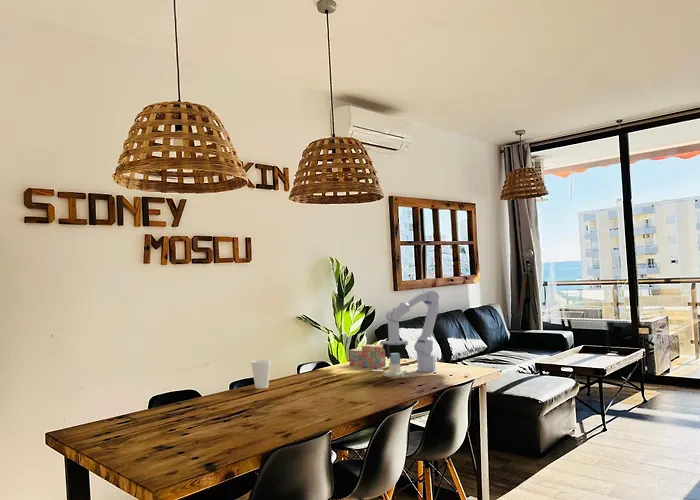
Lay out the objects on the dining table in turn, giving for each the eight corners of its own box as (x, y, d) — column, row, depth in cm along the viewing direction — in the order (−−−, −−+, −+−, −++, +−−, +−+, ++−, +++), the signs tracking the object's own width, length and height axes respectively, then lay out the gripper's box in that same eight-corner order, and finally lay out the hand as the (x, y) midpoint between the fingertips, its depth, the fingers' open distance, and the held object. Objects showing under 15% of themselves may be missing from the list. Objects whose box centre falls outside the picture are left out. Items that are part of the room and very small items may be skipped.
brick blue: (400, 363, 280) (399, 354, 280) (391, 364, 280) (391, 354, 280) (398, 362, 285) (398, 352, 285) (390, 362, 284) (389, 353, 284)
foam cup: (269, 384, 269) (269, 358, 269) (272, 388, 260) (272, 361, 260) (251, 386, 266) (250, 360, 266) (253, 390, 257) (252, 363, 257)
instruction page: (384, 369, 296) (384, 369, 296) (382, 371, 292) (382, 370, 292) (373, 369, 298) (373, 369, 298) (371, 371, 294) (371, 370, 294)
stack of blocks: (349, 365, 314) (348, 345, 315) (355, 364, 319) (354, 343, 320) (380, 368, 302) (379, 346, 303) (386, 366, 308) (385, 345, 308)
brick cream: (393, 371, 285) (392, 362, 285) (400, 372, 283) (400, 362, 283) (389, 373, 281) (388, 363, 282) (396, 373, 279) (396, 364, 279)
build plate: (406, 373, 285) (406, 370, 285) (402, 376, 275) (402, 374, 275) (388, 372, 288) (388, 369, 288) (383, 376, 279) (383, 373, 279)
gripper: (378, 333, 281) (379, 359, 281) (405, 333, 277) (406, 360, 276) (382, 332, 288) (383, 357, 287) (408, 332, 283) (409, 357, 283)
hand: (394, 358), depth 282 cm, fingers open, 6 cm apart
